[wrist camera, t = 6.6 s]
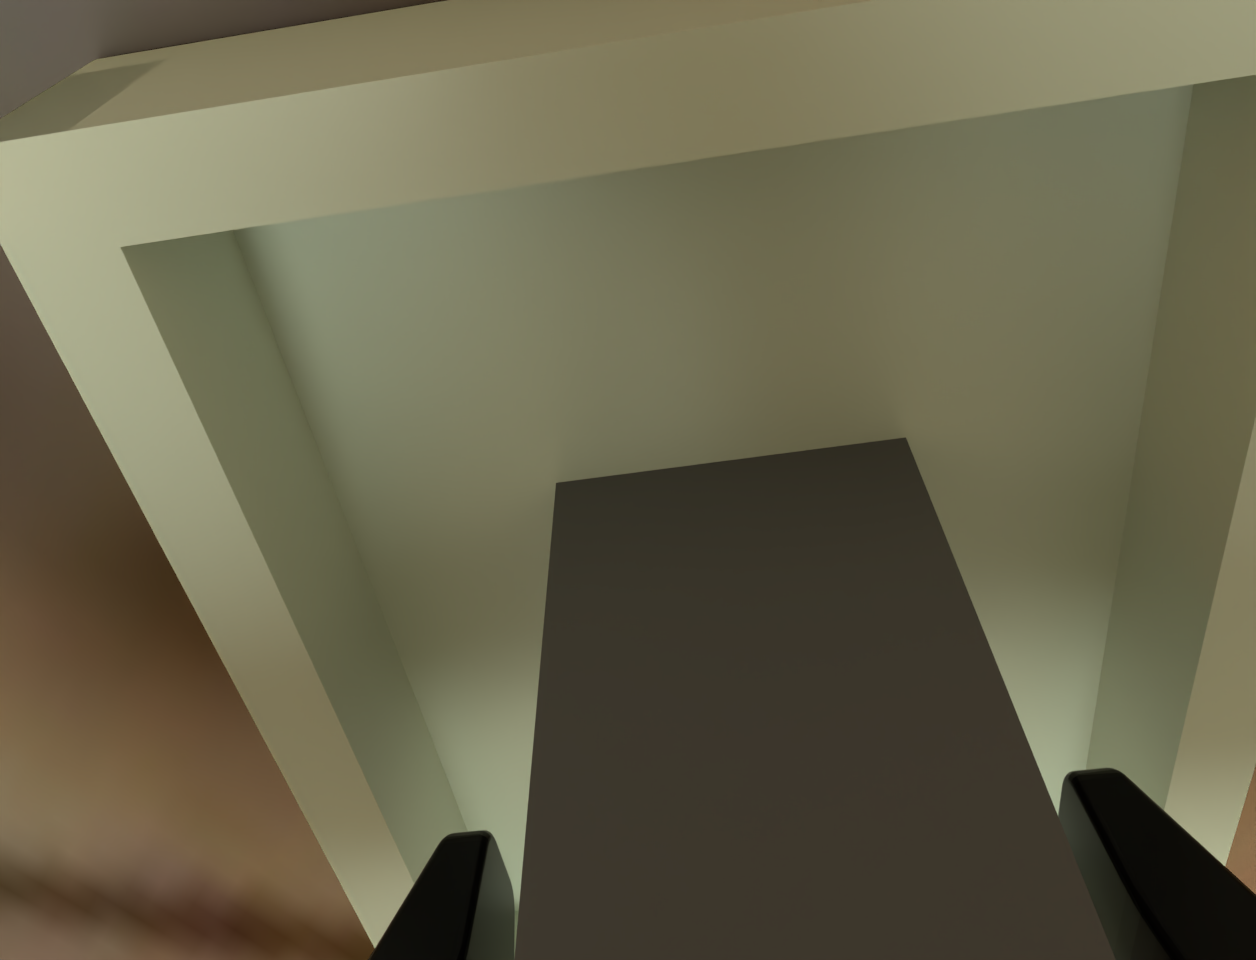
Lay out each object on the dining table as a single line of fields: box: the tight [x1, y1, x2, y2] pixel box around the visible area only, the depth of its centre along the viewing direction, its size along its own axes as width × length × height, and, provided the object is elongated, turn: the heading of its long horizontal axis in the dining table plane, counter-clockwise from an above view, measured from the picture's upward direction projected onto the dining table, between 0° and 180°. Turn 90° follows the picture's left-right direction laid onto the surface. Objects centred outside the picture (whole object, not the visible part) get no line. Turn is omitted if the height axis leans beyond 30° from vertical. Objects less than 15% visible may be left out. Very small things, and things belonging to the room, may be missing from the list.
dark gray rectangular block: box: [514, 437, 1116, 960], centre depth 9 cm, size 4×4×7 cm
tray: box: [0, 0, 1256, 958], centre depth 11 cm, size 10×13×2 cm
